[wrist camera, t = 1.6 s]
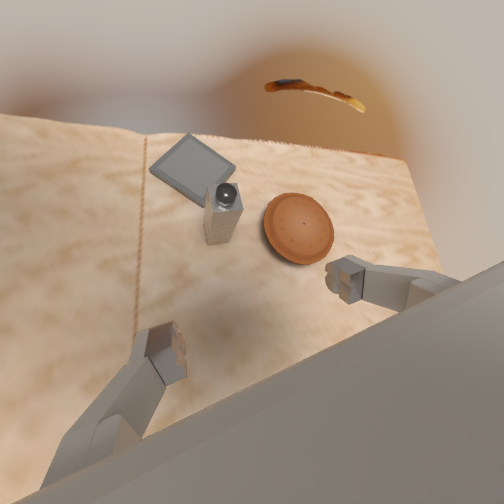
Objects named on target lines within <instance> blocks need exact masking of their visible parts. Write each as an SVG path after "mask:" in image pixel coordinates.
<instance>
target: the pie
mask: <svg viewBox="0 0 504 504" xmlns="http://www.w3.org/2000/svg"><path fill="white" fill-rule="evenodd" d="M263 224H264V229H265V234H266V236H267V238H268V240H269V242H270V244H271V245H272V246H273V248H274V249H275V250H276V251H277V252H278V253H279V254H280V255H282V256H283V257H284V258H286V259H287V260H290V261H292V262H294V263H297V264H305V265H309V264H312V263H315V262H317V261H319V260H321V259H322V258H324V257H325V256H326V255H327V254H328V252H329V251H330V249H331V247H332V244H333V241H334V229H333V225H332V222H331V220H330V218H329V216H328V214H327V212H326V211H325V210H324V209H323V208H322V206H321V205H320V204H319V203H318V202H316V201H315V200H314V199H313V198H311V197H309V196H306V195H303V194H299V193H284V194H282V195H279V196H277V197H275V198H274V199H273V200H272V201H271V202H270V203H269V204H268V207H267V209H266V212H265V216H264V221H263Z"/></svg>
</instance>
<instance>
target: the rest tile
mask: <svg viewBox="0 0 504 504" xmlns="http://www.w3.org/2000/svg"><path fill="white" fill-rule="evenodd" d="M235 169H236V166H235V165H234V164H232V163H231V162H229V161H228V160H226V159H225V158H224V157H222V156H221V155H219V154H218V153H216V152H215V151H214V150H212V149H211V148H209V147H208V146H206V145H205V144H204V143H202V142H201V141H199V140H198V139H196V138H195V137H194V136H192V135H191V134H189V133H188V134H187V135H185V136H184V137H183V138H182V139H181V140H180V141H179V142H178V143H176V144H175V145H174V146H173V147H172V148H171V149H170V150H169V151H167V152H166V153H165V154H164V155H163V156H162V157H161V158H160V159H159V160H157V161H156V162H155V163H154V164H153V165H152V166H151V167H150V168H149V171H150V173H152V174H153V175H154V176H156V177H157V178H159V179H160V180H162V181H163V182H165V183H166V184H168V185H169V186H171V187H172V188H174V189H175V190H177V191H178V192H180V193H181V194H183V195H184V196H186V197H187V198H189V199H190V200H192V201H193V202H195V203H196V204H198V205H199V206H201V207H202V208H204V207H205V203H206V191H207V185H211V184H222V183H225V182H226V180H227V179H228V178H229V177H230V176H231V174H232V173H233V172H234V171H235Z"/></svg>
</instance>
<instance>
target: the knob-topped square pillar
mask: <svg viewBox="0 0 504 504" xmlns="http://www.w3.org/2000/svg"><path fill="white" fill-rule="evenodd" d="M243 210H244V209H243V206H242V202H241V198H240V194H239V190H238V186H237V183H230V184H229V183H222V184H211V185H207V191H206V203H205V215H204V230H205V235H206V240H207V245H213V244H219V243H226V242H229V240H230V238H231V235H232V233H233V231H234V229H235V227H236V225H237V223H238V220H239V218H240V216H241V214H242V212H243Z"/></svg>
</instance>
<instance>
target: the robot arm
mask: <svg viewBox="0 0 504 504" xmlns="http://www.w3.org/2000/svg"><path fill="white" fill-rule="evenodd" d="M325 271H326V272H327V275H326V277H325V282H326V285H327V287H328V289H329V290H330V291H331V292H333V293H336V294H339V298H341V299H342V300H343V301H345V302H346V303H347V304H349V305H350V304H352V303H354V302H357V301H359V300H362V299H363V300H364V301H367V302H370V303H373V304H376V305H379V306H382V307H385V308H388V309H391V310H394V311H397V312H399V313H397V314H395V315H393V316H391V317H389V318H387V319H385V320H383V321H381V322H379V323H377V324H375V325H373V326H371V327H369V328H367V329H365V330H363V331H361V332H359V333H357V334H355V335H353V336H351V337H349V338H347V339H345V340H343V341H341V342H339V343H337V344H334V345H332V346H330V347H328V348H326V349H324V350H322V351H320V352H318V353H316V354H314V355H312V356H310V357H308V358H306V359H304V360H302V361H300V362H298V363H296V364H294V365H292V366H290V367H288V368H286V369H284V370H282V371H280V372H278V373H276V374H274V375H272V376H270V377H268V378H266V379H264V380H261V381H259V382H257V383H255V384H253V385H251V386H249V387H247V388H245V389H243V390H241V391H239V392H237V393H235V394H233V395H231V396H229V397H227V398H225V399H223V400H221V401H219V402H217V403H215V404H213V405H211V406H209V407H207V408H205V409H203V410H201V411H199V412H197V413H195V414H193V415H191V416H188V417H186V418H184V419H182V420H180V421H178V422H176V423H174V424H172V425H170V426H168V427H166V428H164V429H162V430H160V431H158V432H156V433H154V434H152V435H150V436H148V437H146V438H144V439H142V440H141V438H142V436H143V434H144V432H145V430H146V428H147V426H148V424H149V422H150V420H151V418H152V416H153V414H154V412H155V410H156V408H157V406H158V403H159V401H160V399H161V397H162V395H163V393H164V391H165V389H166V386H168V385H170V384H172V383H174V382H176V381H178V380H181V379H183V378H185V377H187V367H186V361H185V359H184V357H185V355H186V348H185V343H184V340H183V337H182V334H181V333H179V332H178V326H177V324H176V322H175V320H171V321H168V322H165V323H163V324H160V325H157V326H154V327H151V328H148V329H145V330H143V331H140V332H138V333H137V334H136V337H135V341H134V345H133V348H132V352H131V356H130V359H129V363H128V364H127V365H125V366H124V367H123V368H122V369H121V370H120V371H119V372H118V374H117V375H116V376H115V377H114V378H113V379H112V380H111V382H110V383H109V384H108V385H107V386H106V387H105V389H104V390H103V391H102V392H101V393H100V394H99V396H98V397H97V398H96V399H95V400H94V401H93V403H92V404H91V405H90V406H89V407H88V408H87V409H86V411H85V412H84V413H83V414H82V415H81V416H80V418H79V419H78V420H77V421H76V422H75V423H74V425H73V426H72V427H71V428H70V429H69V430H68V432H67V433H66V434H65V435H64V436H63V438H62V440H61V442H60V445H59V447H58V449H57V451H56V454H55V456H54V458H53V460H52V463H51V465H50V467H49V469H48V472H47V474H46V476H45V478H44V481H43V483H42V485H41V487H40V490H39V491H37V492H35V493H32V494H30V495H28V496H26V497H24V498H22V499H20V500H18V501H16V502H14V503H12V504H504V261H503V262H501V263H499V264H497V265H495V266H493V267H491V268H489V269H487V270H485V271H483V272H481V273H479V274H476V275H475V276H472V277H470V278H469V279H467V280H464V281H462V282H461V281H458V280H456V279H453V278H450V277H448V276H445V275H442V274H440V273H437V272H434V271H429V270H420V269H411V268H402V267H393V266H385V265H373V264H371V263H368V262H366V261H364V260H362V259H360V258H357V257H355V256H353V255H347V256H345V257H342V258H341V259H338V260H335V261H333V262H330V263H327V264H326V266H325Z"/></svg>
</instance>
